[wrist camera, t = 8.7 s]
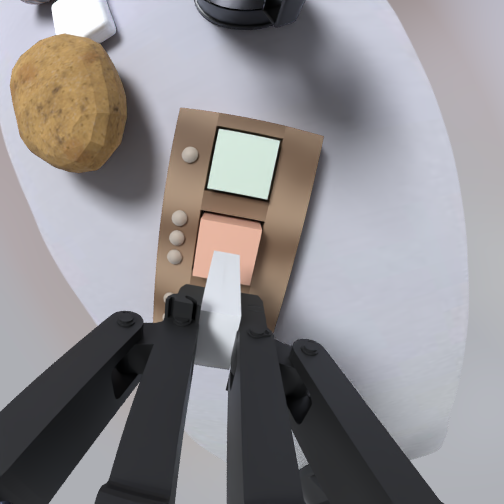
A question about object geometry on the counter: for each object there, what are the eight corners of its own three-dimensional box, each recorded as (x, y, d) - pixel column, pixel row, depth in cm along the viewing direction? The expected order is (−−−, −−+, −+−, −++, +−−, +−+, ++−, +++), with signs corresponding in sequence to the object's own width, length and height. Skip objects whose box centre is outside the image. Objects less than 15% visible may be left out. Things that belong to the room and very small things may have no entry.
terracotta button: (248, 270, 24) (249, 285, 21) (197, 261, 23) (192, 275, 21) (259, 220, 23) (262, 230, 20) (205, 211, 22) (200, 218, 19)
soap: (120, 33, 17) (107, 22, 15) (74, 64, 18) (58, 57, 15) (102, -15, 15) (92, -26, 12) (61, 13, 15) (48, 4, 12)
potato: (92, 196, 22) (41, 215, 15) (33, 99, 18) (-18, 91, 11) (171, 126, 21) (139, 111, 13) (99, 31, 17) (59, 0, 9)
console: (264, 339, 28) (266, 355, 25) (158, 321, 27) (152, 336, 24) (315, 138, 22) (324, 136, 19) (186, 112, 20) (179, 107, 18)
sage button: (263, 194, 23) (267, 199, 20) (211, 184, 22) (207, 188, 20) (274, 143, 21) (280, 140, 19) (221, 132, 21) (219, 128, 18)
